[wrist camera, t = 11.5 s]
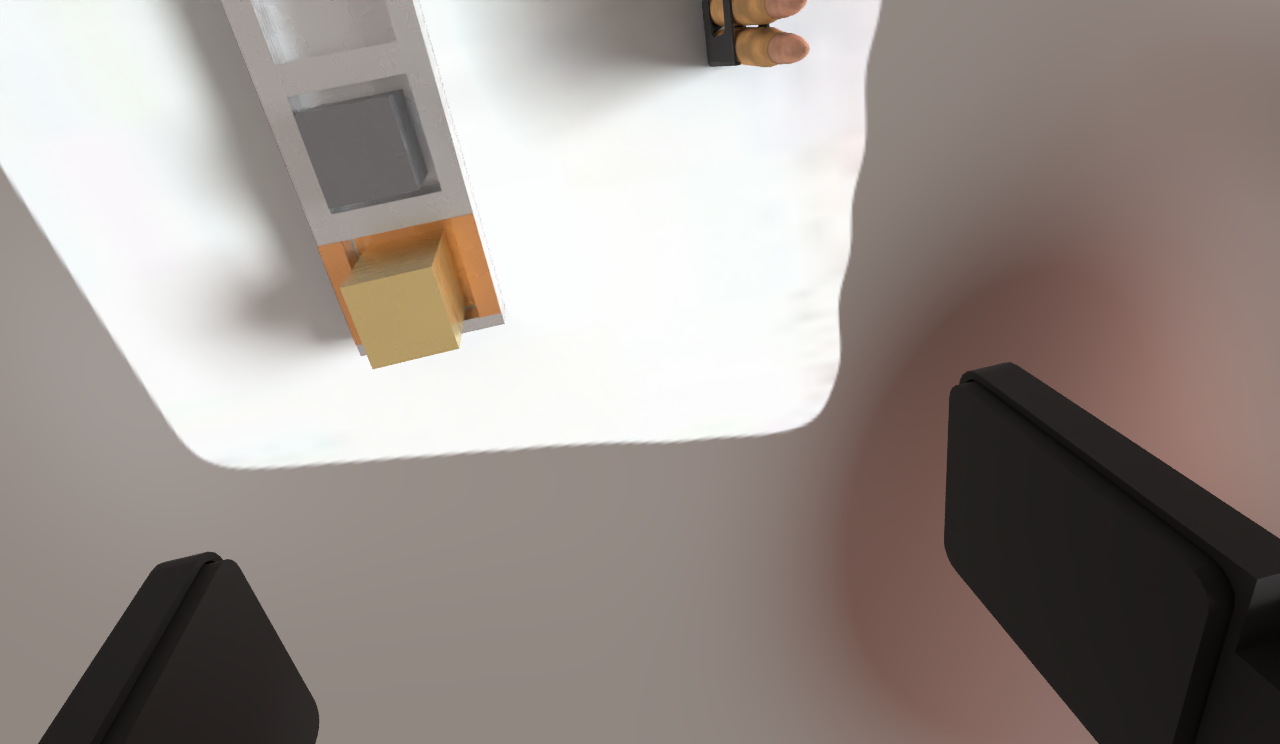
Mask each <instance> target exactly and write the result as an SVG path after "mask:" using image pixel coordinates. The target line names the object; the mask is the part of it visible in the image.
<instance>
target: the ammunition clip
mask: <svg viewBox="0 0 1280 744" xmlns="http://www.w3.org/2000/svg"><path fill="white" fill-rule="evenodd" d="M806 3H807V0H702V8H703V17H704V27H705V36H706V46H707V56H708V63H709V65H710V66H711V67H713V66H736V65H740V64H743V65H751V66H759V67H772V66H775V65H777V64H791V63H795V62H797V61H800V60H802V59H803V58H804V57H806V56H807V54H808V53H809V45H808V43H807V42H806V41H805V40H804V39H803V38H802V37H800V36H798V35H795V34H793V33H786V32H782V31H780V30H778V29H776V28H774V27H769V23H772V22H774V21H776V20H777V19H781V18H786V17H789V16H791V15H794V14H796V13H798V12H799V11H800V10H801V9H802V8H803V7H804V6H805V5H806ZM746 25H759V26H758V27H746Z"/></svg>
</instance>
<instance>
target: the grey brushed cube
mask: <svg viewBox="0 0 1280 744" xmlns="http://www.w3.org/2000/svg"><path fill="white" fill-rule="evenodd" d="M293 116H294V118H295V121H296V124H297V126H298V129H299V132H300V134H301V137H302V139H303V142H304V145H305V147H306V150H307V153H308V155H309V158H310V161H311V163H312V166H313V169H314V171H315V174H316V176H317V179H318V182H319V184H320V187H321V190H322V192H323V195H324V198H325V200H326V203H327V206H328V208H329V209H331V208H336V207H341V206H345V205H350V204H355V203H360V202H364V201H369V200H374V199H379V198H383V197H388V196H393V195H398V194H402V193H407V192H412V191H417V190H419V188H420V186H421V185H422V183H423V181H424V179H425V178H426V176H427V174H428V171H427V168H426V165H425V161H424V158H423V155H422V152H421V148H420V145H419V142H418V139H417V135H416V132H415V129H414V126H413V122H412V119H411V116H410V112H409V109H408V106H407V103H406V99H405V96H404V93H403V90H402V89H399V90H394V91H389V92H384V93H379V94H374V95H369V96H364V97H359V98H354V99H349V100H344V101H339V102H334V103H329V104H324V105H319V106H316V107H313V108H311V109H308V110H306V111H303V112H301V113H298V114H295V115H293Z"/></svg>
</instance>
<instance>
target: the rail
mask: <svg viewBox="0 0 1280 744" xmlns="http://www.w3.org/2000/svg"><path fill="white" fill-rule="evenodd" d="M221 3H222V5H223V8H224V10H225V13H226V15H227V18H228V20H229V23H230V25H231V28H232V31H233V33H234V36H235V38H236V41H237V43H238V46H239V48H240V51H241V53H242V56H243V58H244V61H245V63H246V66H247V69H248V71H249V74H250V76H251V79H252V81H253V84H254V86H255V89H256V91H257V94H258V96H259V99H260V101H261V104H262V107H263V109H264V112H265V114H266V117H267V119H268V122H269V124H270V127H271V129H272V132H273V134H274V137H275V139H276V142H277V145H278V147H279V150H280V152H281V155H282V157H283V160H284V162H285V165H286V167H287V170H288V172H289V175H290V177H291V180H292V183H293V185H294V188H295V190H296V193H297V195H298V198H299V200H300V203H301V205H302V208H303V210H304V213H305V215H306V218H307V221H308V223H309V226H310V228H311V231H312V233H313V236H314V238H315V241H316V243H317V246H318V247H317V248H318V250H319V253H320V255H321V258H322V260H323V263H324V265H325V268H326V270H327V273H328V275H329V278H330V280H331V283H332V286H333V288H334V291H335V293H336V296H337V298H338V301H339V303H340V306H341V308H342V311H343V313H344V316H345V318H346V321H347V324H348V326H349V329H350V331H351V334H352V336H353V339H354V341H355V344H356V345H357V347H358V350H359V352H360V355H361V356H364V355H367V354H366V352H365V349H364V347H363V344H362V342H361V339H360V337H359V334H358V332H357V329H356V327H355V324H354V322H353V320H352V317H351V315H350V312H349V310H348V307H347V305H346V302H345V300H344V297H343V295H342V293H341V290H340V287H341V285H342V284H343V282H344V281H345V279H346V278H347V276H348V275H349V273H350V272H351V270H352V269H353V267H354V266H355V264H356V263H357V261H358V260H359V258H360V257H361V255H362V254H363V252H364V250H365V249H366V247H367V246H371V245H376V244H380V243H384V242H389V241H393V240H398V239H402V238H406V237H411V236H415V235H419V234H424V233H428V232H432V231H437V230H441V229H444V231H445V234H446V237H447V240H448V243H449V246H450V249H451V253H452V256H453V259H454V262H455V265H456V268H457V271H458V274H459V277H460V281H461V284H462V287H463V290H464V293H465V296H466V299H467V301H466V307H465V314H464V320H463V327H462V333H466V332H470V331H474V330H479V329H483V328H488V327H492V326H497V325H501V324H505V304H504V300H503V297H502V293H501V290H500V286H499V282H498V279H497V275H496V272H495V268H494V265H493V261H492V258H491V254H490V250H489V247H488V243H487V240H486V236H485V233H484V229H483V226H482V222H481V218H480V215H479V211H478V208H477V204H476V201H475V197H474V193H473V190H472V186H471V183H470V179H469V176H468V172H467V169H466V165H465V161H464V158H463V154H462V151H461V147H460V144H459V140H458V137H457V133H456V129H455V126H454V122H453V119H452V115H451V112H450V108H449V105H448V101H447V97H446V94H445V90H444V87H443V83H442V80H441V76H440V72H439V69H438V65H437V62H436V58H435V55H434V51H433V48H432V44H431V40H430V37H429V33H428V30H427V26H426V23H425V19H424V16H423V12H422V8H421V5H420V1H419V0H221ZM399 89H402V90H403V93H404V96H405V99H406V103H407V106H408V109H409V112H410V116H411V119H412V122H413V126H414V129H415V132H416V135H417V139H418V142H419V145H420V148H421V152H422V155H423V158H424V161H425V165H426V168H427V171H428V174H427V176H426V178H425V179H424V181H423V183H422V185H421V186H420V188H419V190H417V191H412V192H407V193H402V194H398V195H393V196H388V197H383V198H379V199H374V200H369V201H364V202H360V203H355V204H350V205H345V206H341V207H336V208H331V209H329V208H328V206H327V203H326V200H325V198H324V195H323V192H322V190H321V187H320V184H319V182H318V179H317V176H316V174H315V171H314V169H313V166H312V163H311V161H310V158H309V155H308V153H307V150H306V147H305V145H304V142H303V139H302V137H301V134H300V132H299V129H298V126H297V124H296V121H295V118H294V116H293V115H295V114H298V113H301V112H303V111H306V110H308V109H311V108H313V107H316V106H319V105H324V104H329V103H334V102H339V101H344V100H349V99H354V98H359V97H364V96H369V95H374V94H379V93H384V92H389V91H394V90H399Z"/></svg>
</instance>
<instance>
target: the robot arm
mask: <svg viewBox="0 0 1280 744" xmlns="http://www.w3.org/2000/svg"><path fill="white" fill-rule="evenodd" d="M944 545H945V550H946V553H947V556H948V559H949V561H950V562H951V565H952V566H953V567H954V569H955V570H956V571H957V573H958V574H959V575H960V576H961V578H962V579H963V580H964V581H965V582H966V584H967V585H968V586H969V587H970V588H971V590H972V591H973V592H974V593H975V594H976V596H977V597H978V598H979V599H980V600H981V602H982V603H983V604H984V605H985V607H986V608H987V609H988V610H989V611H990V613H991V614H992V615H993V616H994V618H996V620H997V621H998V622H999V624H1000V625H1001V626H1002V627H1003V628H1004V630H1005V631H1006V632H1007V633H1008V634H1009V636H1010V637H1011V638H1012V639H1013V641H1014V642H1015V643H1016V644H1017V645H1018V646H1019V648H1020V649H1021V650H1022V651H1023V652H1024V654H1025V655H1026V656H1027V657H1028V658H1029V660H1030V661H1031V662H1032V664H1033V665H1034V666H1035V667H1036V668H1037V670H1038V671H1039V672H1040V673H1041V674H1042V675H1043V677H1044V678H1045V679H1046V680H1047V682H1048V683H1049V684H1050V685H1051V686H1052V687H1053V689H1054V690H1055V691H1056V692H1057V694H1058V695H1059V696H1060V697H1061V698H1062V700H1063V701H1064V702H1065V703H1066V704H1067V706H1068V707H1069V708H1070V709H1071V711H1072V712H1073V713H1074V714H1075V715H1076V717H1077V718H1078V719H1079V720H1080V722H1081V723H1082V724H1083V725H1084V726H1085V728H1086V729H1087V730H1088V731H1089V732H1090V734H1091V735H1092V736H1093V737H1094V739H1095V740H1096V741H1097V742H1098V743H1099V744H1280V539H1279V538H1278V537H1276V536H1275V535H1273V534H1272V533H1270V532H1269V531H1267V530H1266V529H1264V528H1263V527H1261V526H1260V525H1258V524H1257V523H1255V522H1254V521H1252V520H1250V519H1249V518H1247V517H1246V516H1244V515H1243V514H1241V513H1240V512H1238V511H1237V510H1235V509H1234V508H1232V507H1231V506H1229V505H1228V504H1226V503H1225V502H1223V501H1222V500H1220V499H1218V498H1217V497H1216V496H1214V495H1213V494H1211V493H1210V492H1208V491H1206V490H1205V489H1204V488H1202V487H1200V486H1199V485H1198V484H1196V483H1194V482H1193V481H1192V480H1190V479H1188V478H1187V477H1185V476H1184V475H1182V474H1181V473H1179V472H1178V471H1176V470H1175V469H1173V468H1172V467H1170V466H1169V465H1167V464H1166V463H1164V462H1163V461H1161V460H1160V459H1158V458H1157V457H1155V456H1154V455H1152V454H1151V453H1149V452H1147V451H1146V450H1145V449H1143V448H1141V447H1140V446H1139V445H1137V444H1136V443H1134V442H1132V441H1131V440H1129V439H1128V438H1126V437H1125V436H1123V435H1122V434H1120V433H1119V432H1117V431H1116V430H1114V429H1113V428H1111V427H1110V426H1108V425H1106V424H1105V423H1104V422H1102V421H1101V420H1099V419H1098V418H1096V417H1095V416H1093V415H1092V414H1090V413H1089V412H1087V411H1086V410H1084V409H1083V408H1081V407H1080V406H1078V405H1076V404H1075V403H1073V402H1072V401H1070V400H1069V399H1067V398H1066V397H1064V396H1063V395H1061V394H1060V393H1058V392H1057V391H1055V390H1054V389H1052V388H1051V387H1049V386H1048V385H1046V384H1045V383H1043V382H1042V381H1040V380H1039V379H1037V378H1035V377H1034V376H1033V375H1031V374H1030V373H1028V372H1027V371H1025V370H1023V369H1022V368H1021V367H1019V366H1017V365H1015V364H1013V363H1011V362H1009V363H1001V364H997V365H993V366H989V367H984V368H980V369H976V370H972V371H968V372H966V373H965V374H963V375H962V377H961V379H960V384H959V385H956V386H954V387H953V388H952V390H951V391H950V397H949V421H948V448H947V476H946V502H945V529H944ZM318 730H319V713H318V709H317V705H316V703H315V700H314V699H313V697H312V695H311V693H310V691H309V690H308V688H307V686H306V684H305V683H304V681H303V679H302V677H301V676H300V674H299V672H298V670H297V668H296V667H295V665H294V663H293V661H292V660H291V658H290V656H289V654H288V652H287V651H286V649H285V647H284V645H283V644H282V642H281V640H280V638H279V637H278V635H277V633H276V631H275V629H274V628H273V626H272V624H271V622H270V620H269V619H268V617H267V615H266V614H265V612H264V610H263V608H262V606H261V605H260V603H259V601H258V599H257V597H256V596H255V594H254V592H253V590H252V589H251V587H250V585H249V583H248V582H247V580H246V578H245V576H244V574H243V573H242V571H241V569H240V567H239V566H238V565H237V563H236V562H234V561H233V560H229V559H226V560H223V559H222V558H221V557H220V556H219V555H217V554H216V553H214V552H205V553H201V554H197V555H192V556H189V557H184V558H180V559H175V560H171V561H167V562H163V563H161V564H158V565H157V566H156V567H155V568H154V569H153V570H152V571H151V573H150V574H149V576H148V577H147V579H146V580H145V582H144V583H143V585H142V586H141V588H140V589H139V591H138V592H137V594H136V595H135V597H134V598H133V600H132V602H131V603H130V605H129V606H128V608H127V609H126V611H125V612H124V614H123V615H122V617H121V618H120V620H119V621H118V623H117V624H116V626H115V627H114V629H113V631H112V632H111V633H110V635H109V637H108V638H107V640H106V641H105V643H104V644H103V646H102V647H101V649H100V650H99V652H98V653H97V655H96V656H95V658H94V659H93V661H92V662H91V664H90V666H89V667H88V668H87V670H86V672H85V673H84V675H83V676H82V678H81V679H80V681H79V682H78V684H77V685H76V687H75V689H74V690H73V691H72V693H71V695H70V696H69V698H68V699H67V701H66V702H65V703H64V705H63V707H62V708H61V710H60V711H59V713H58V714H57V716H56V717H55V719H54V720H53V722H52V723H51V725H50V726H49V728H48V729H47V731H46V733H45V734H44V735H43V737H42V738H41V740H40V742H39V743H38V744H315V743H316V739H317V735H318Z"/></svg>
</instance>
